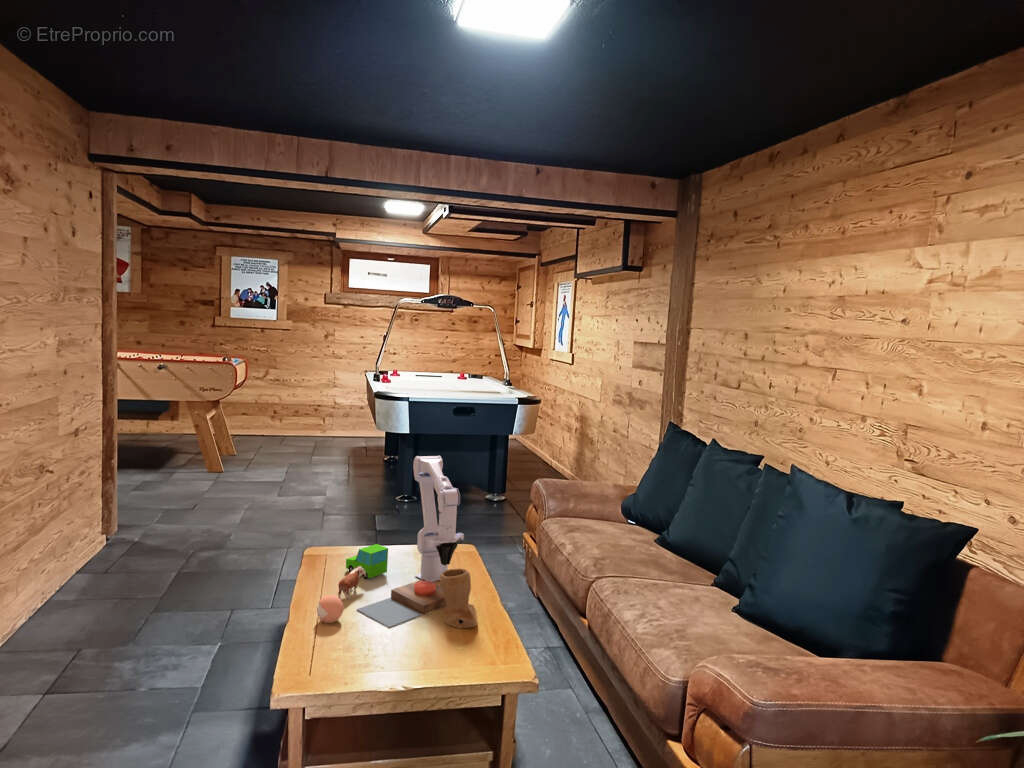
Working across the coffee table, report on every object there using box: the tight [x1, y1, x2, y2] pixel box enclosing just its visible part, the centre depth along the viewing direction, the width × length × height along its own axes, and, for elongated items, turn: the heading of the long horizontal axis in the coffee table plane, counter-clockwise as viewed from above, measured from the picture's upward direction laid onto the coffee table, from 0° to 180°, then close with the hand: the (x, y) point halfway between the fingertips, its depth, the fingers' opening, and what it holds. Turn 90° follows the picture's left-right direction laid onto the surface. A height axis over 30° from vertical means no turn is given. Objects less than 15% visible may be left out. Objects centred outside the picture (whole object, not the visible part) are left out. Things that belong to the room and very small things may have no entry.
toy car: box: [345, 543, 389, 580], centre depth 232 cm, size 10×13×10 cm
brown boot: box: [439, 568, 478, 629], centre depth 200 cm, size 15×12×15 cm
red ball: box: [414, 580, 437, 596], centre depth 213 cm, size 7×7×2 cm
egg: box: [316, 594, 344, 624], centre depth 193 cm, size 8×8×8 cm
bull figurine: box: [337, 566, 366, 600], centre depth 213 cm, size 4×13×8 cm, turn 161°
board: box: [390, 579, 447, 616], centre depth 213 cm, size 14×16×3 cm
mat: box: [356, 597, 423, 629], centre depth 202 cm, size 13×16×1 cm
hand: (445, 564), depth 218 cm, fingers closed
